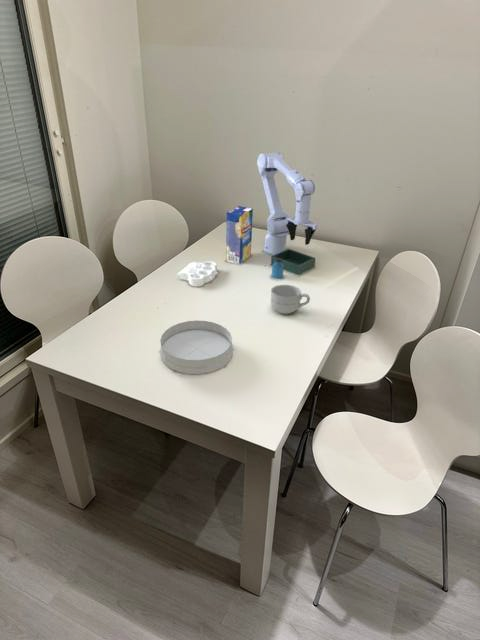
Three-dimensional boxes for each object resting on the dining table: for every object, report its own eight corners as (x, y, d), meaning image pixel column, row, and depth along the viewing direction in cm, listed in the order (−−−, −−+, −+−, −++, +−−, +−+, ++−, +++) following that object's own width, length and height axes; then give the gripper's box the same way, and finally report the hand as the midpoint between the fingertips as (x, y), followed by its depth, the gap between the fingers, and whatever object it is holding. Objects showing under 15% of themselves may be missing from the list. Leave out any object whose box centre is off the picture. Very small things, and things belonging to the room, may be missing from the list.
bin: (270, 266, 198) (271, 256, 196) (287, 258, 206) (288, 248, 203) (298, 276, 190) (299, 266, 187) (314, 267, 198) (315, 257, 195)
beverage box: (250, 256, 207) (252, 208, 195) (239, 264, 198) (241, 215, 187) (237, 252, 209) (238, 205, 198) (226, 261, 201) (226, 212, 190)
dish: (196, 325, 155) (195, 313, 152) (246, 350, 143) (247, 337, 140) (145, 354, 140) (144, 340, 137) (197, 384, 128) (197, 370, 125)
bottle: (269, 277, 188) (270, 258, 184) (276, 274, 191) (277, 255, 187) (278, 280, 186) (279, 262, 181) (284, 277, 189) (286, 258, 184)
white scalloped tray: (193, 265, 197) (224, 271, 192) (173, 282, 182) (207, 289, 178) (193, 258, 195) (224, 263, 191) (173, 274, 180) (207, 281, 176)
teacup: (264, 312, 164) (266, 292, 159) (277, 299, 172) (278, 280, 168) (301, 322, 158) (303, 302, 154) (311, 309, 167) (314, 289, 162)
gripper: (282, 208, 190) (280, 240, 197) (311, 216, 181) (308, 248, 188) (292, 205, 194) (290, 235, 201) (321, 212, 186) (318, 244, 193)
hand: (299, 241), depth 195 cm, fingers open, 7 cm apart
